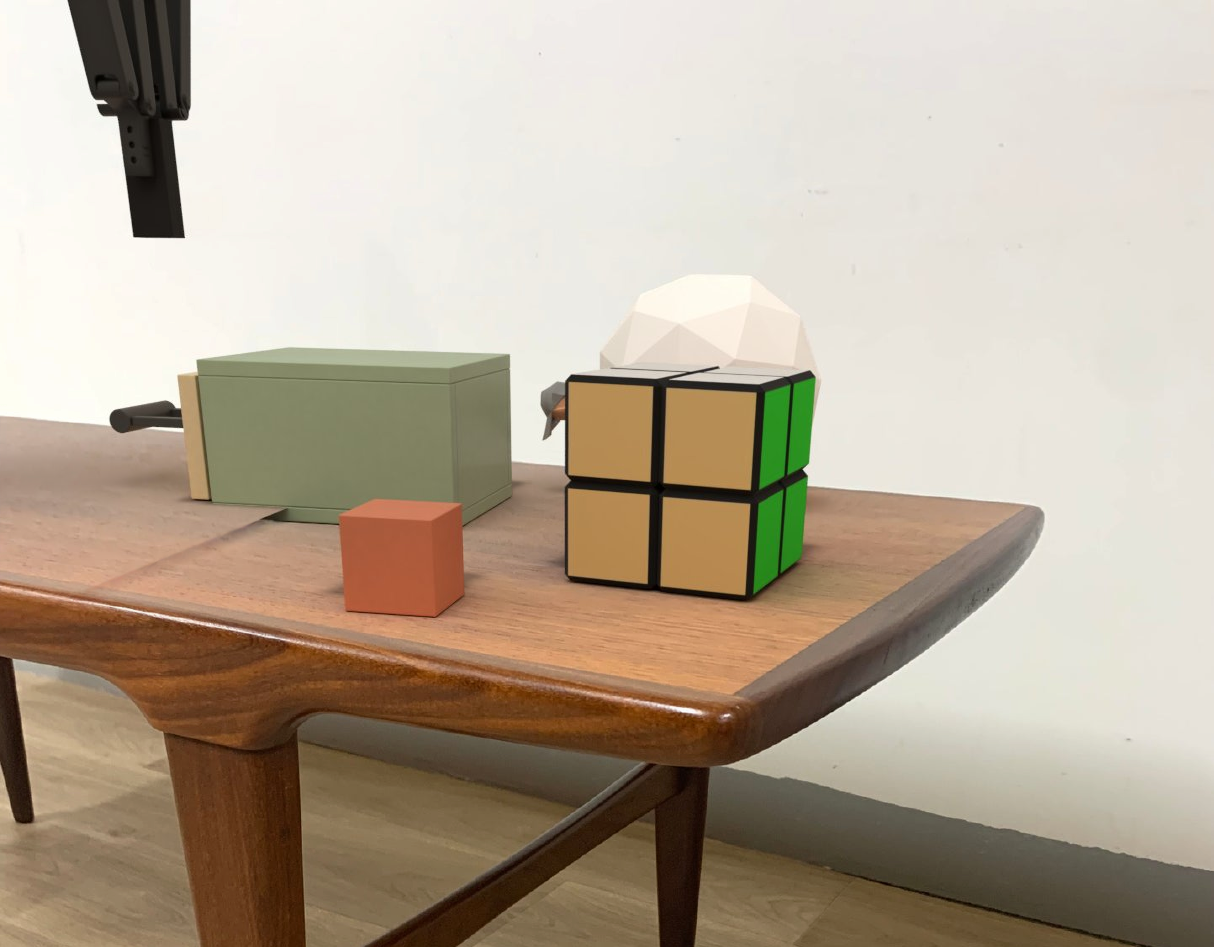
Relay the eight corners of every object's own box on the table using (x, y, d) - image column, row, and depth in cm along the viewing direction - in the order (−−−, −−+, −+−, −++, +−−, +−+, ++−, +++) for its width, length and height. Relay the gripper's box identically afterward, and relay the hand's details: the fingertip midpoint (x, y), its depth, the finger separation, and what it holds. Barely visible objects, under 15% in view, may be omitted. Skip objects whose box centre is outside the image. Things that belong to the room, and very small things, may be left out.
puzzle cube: (633, 545, 72) (638, 361, 68) (803, 562, 69) (818, 369, 65) (561, 581, 64) (561, 374, 60) (750, 603, 60) (764, 384, 56)
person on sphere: (842, 443, 91) (583, 463, 97) (824, 223, 82) (539, 261, 88) (817, 540, 81) (529, 555, 87) (794, 301, 71) (472, 337, 77)
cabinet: (213, 517, 78) (195, 359, 74) (299, 485, 89) (288, 347, 86) (455, 531, 75) (449, 367, 71) (512, 496, 87) (510, 354, 83)
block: (344, 610, 58) (338, 514, 56) (379, 589, 62) (374, 498, 60) (435, 617, 57) (431, 520, 55) (464, 594, 61) (462, 503, 59)
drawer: (93, 493, 80) (75, 371, 77) (185, 467, 90) (172, 358, 87) (412, 510, 76) (406, 382, 73) (469, 481, 86) (466, 368, 83)
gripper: (97, -285, 62) (159, 236, 72) (221, -197, 74) (261, 240, 83) (-37, -275, 64) (42, 235, 73) (106, -191, 75) (158, 239, 85)
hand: (159, 237), depth 78 cm, fingers closed
